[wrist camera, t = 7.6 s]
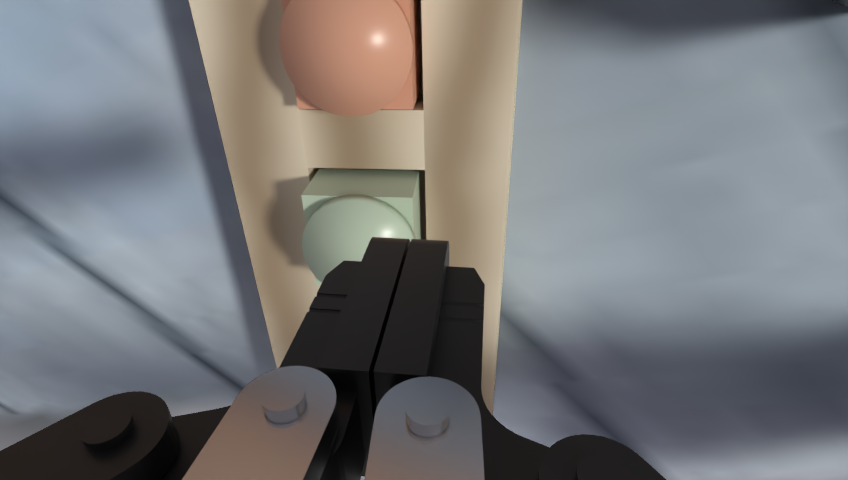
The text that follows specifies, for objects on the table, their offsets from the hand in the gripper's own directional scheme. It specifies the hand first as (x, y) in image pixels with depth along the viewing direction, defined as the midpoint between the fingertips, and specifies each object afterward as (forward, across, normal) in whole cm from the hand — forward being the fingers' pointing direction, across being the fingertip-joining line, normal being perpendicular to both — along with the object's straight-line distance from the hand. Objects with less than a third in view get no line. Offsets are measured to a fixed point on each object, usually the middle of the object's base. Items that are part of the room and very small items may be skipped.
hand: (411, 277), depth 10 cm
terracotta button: (+13, +4, -3) cm, 13 cm away
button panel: (+14, +4, +5) cm, 15 cm away
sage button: (+12, +4, +5) cm, 13 cm away
